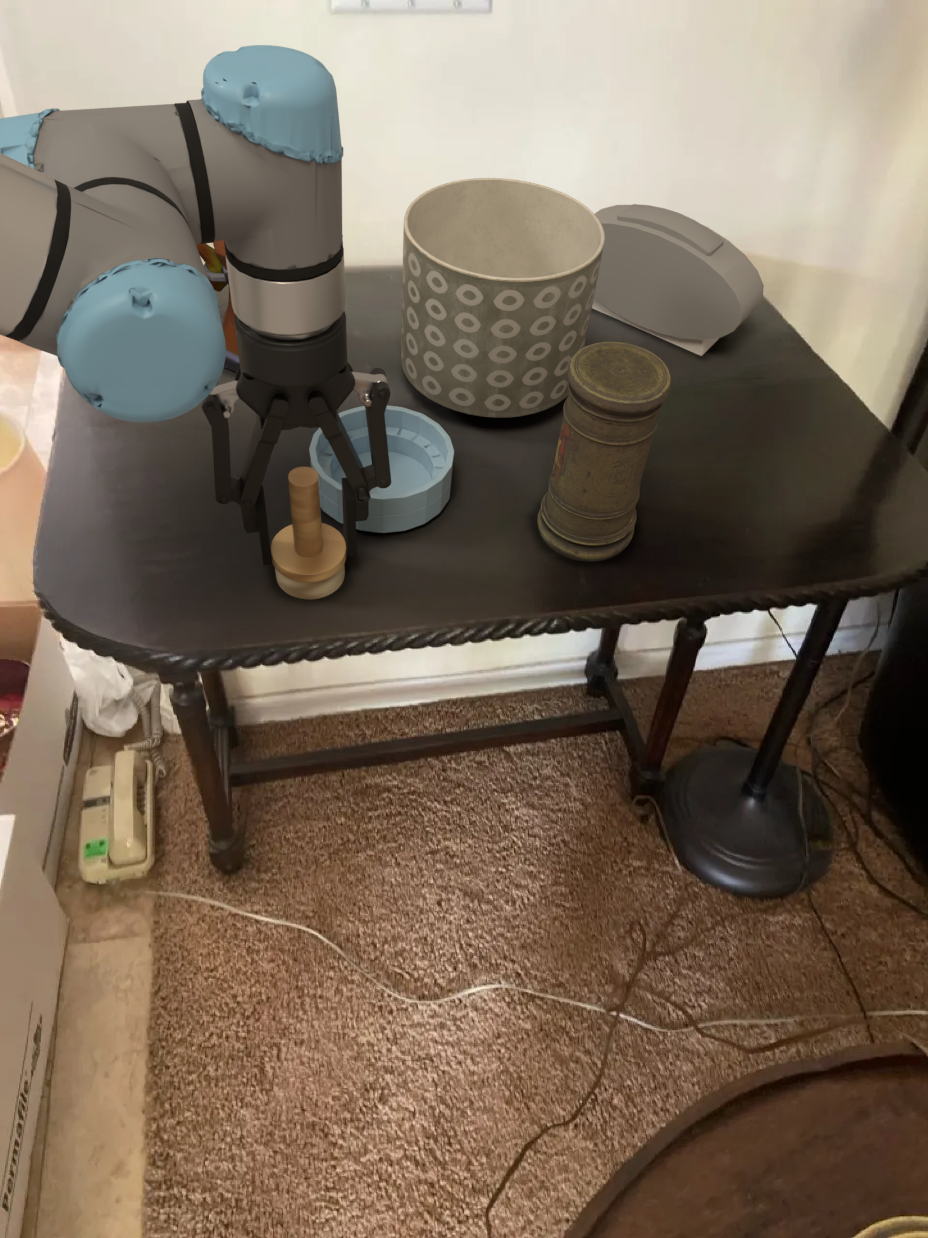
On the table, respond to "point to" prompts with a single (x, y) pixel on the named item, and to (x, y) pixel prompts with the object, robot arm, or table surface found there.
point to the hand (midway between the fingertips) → (308, 548)
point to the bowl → (391, 469)
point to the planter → (496, 294)
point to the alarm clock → (673, 277)
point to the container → (602, 450)
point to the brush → (308, 543)
